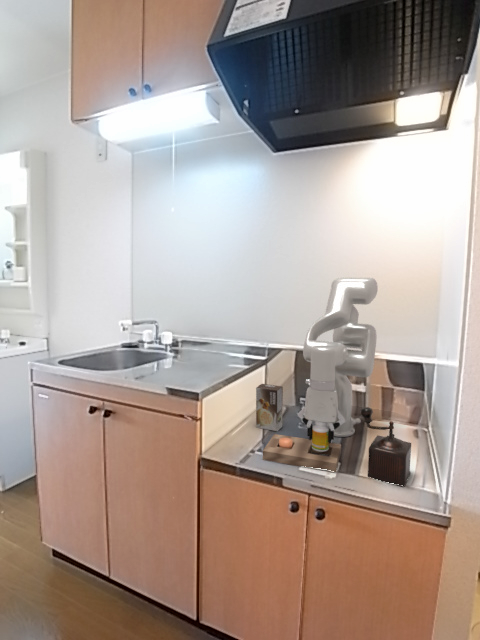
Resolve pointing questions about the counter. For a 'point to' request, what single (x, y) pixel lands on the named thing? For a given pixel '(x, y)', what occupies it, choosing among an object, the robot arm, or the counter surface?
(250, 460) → the counter surface
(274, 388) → the coffee box
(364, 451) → the counter surface
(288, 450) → the board
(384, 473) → the manual coffee grinder
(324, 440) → the supplement bottle
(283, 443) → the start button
